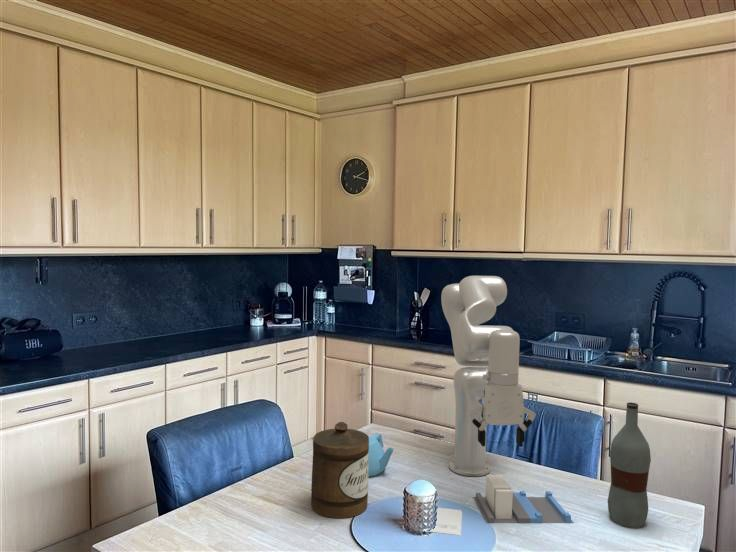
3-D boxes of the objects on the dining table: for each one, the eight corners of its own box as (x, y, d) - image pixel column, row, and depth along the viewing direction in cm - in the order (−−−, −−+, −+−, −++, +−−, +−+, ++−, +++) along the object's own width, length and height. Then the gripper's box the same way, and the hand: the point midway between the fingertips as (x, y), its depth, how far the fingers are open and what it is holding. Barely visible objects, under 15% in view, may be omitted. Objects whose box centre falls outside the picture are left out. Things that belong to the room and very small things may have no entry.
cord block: (485, 500, 145) (486, 474, 145) (500, 500, 145) (501, 474, 145) (495, 518, 135) (496, 491, 135) (511, 518, 135) (512, 491, 135)
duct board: (472, 499, 147) (472, 490, 147) (552, 500, 148) (552, 490, 148) (486, 526, 133) (486, 515, 133) (574, 526, 134) (574, 515, 134)
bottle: (640, 513, 141) (646, 400, 140) (653, 531, 132) (659, 410, 131) (602, 509, 143) (607, 397, 142) (612, 527, 134) (617, 407, 133)
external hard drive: (462, 516, 139) (461, 541, 127) (430, 512, 141) (426, 537, 128) (462, 510, 139) (461, 534, 127) (430, 506, 141) (426, 530, 128)
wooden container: (355, 523, 133) (357, 435, 132) (301, 512, 138) (302, 427, 137) (375, 498, 147) (377, 418, 146) (325, 488, 152) (327, 411, 151)
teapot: (394, 478, 160) (395, 442, 159) (344, 482, 157) (345, 445, 156) (381, 458, 175) (382, 425, 174) (335, 461, 171) (336, 428, 171)
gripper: (473, 381, 134) (471, 449, 135) (541, 382, 135) (539, 450, 136) (466, 375, 142) (464, 439, 143) (531, 375, 143) (529, 439, 143)
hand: (500, 444), depth 139 cm, fingers open, 9 cm apart
